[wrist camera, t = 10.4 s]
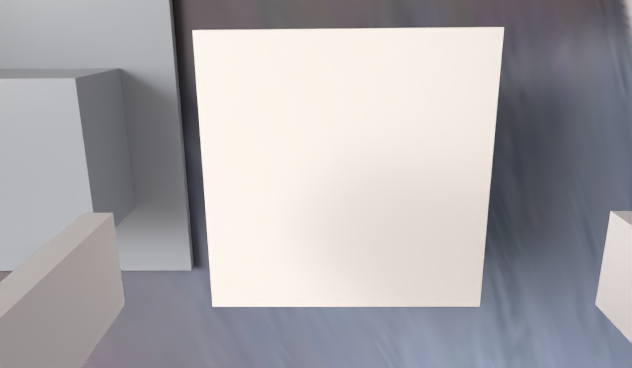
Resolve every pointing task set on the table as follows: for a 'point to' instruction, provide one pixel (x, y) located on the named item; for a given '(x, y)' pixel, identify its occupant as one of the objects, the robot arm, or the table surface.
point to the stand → (92, 128)
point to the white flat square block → (347, 164)
